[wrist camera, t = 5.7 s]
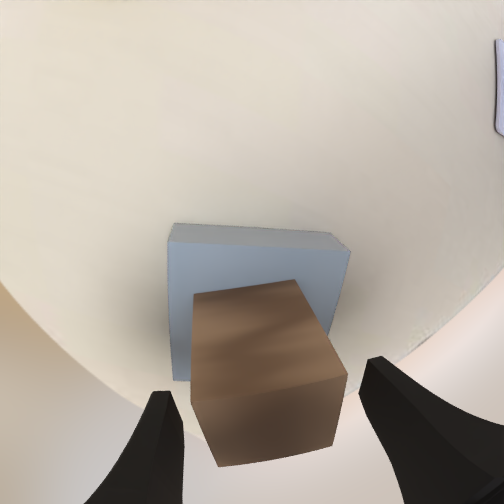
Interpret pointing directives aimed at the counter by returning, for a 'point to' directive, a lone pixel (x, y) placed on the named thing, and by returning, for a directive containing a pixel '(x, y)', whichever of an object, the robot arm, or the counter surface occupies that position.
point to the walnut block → (263, 374)
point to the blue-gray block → (247, 272)
